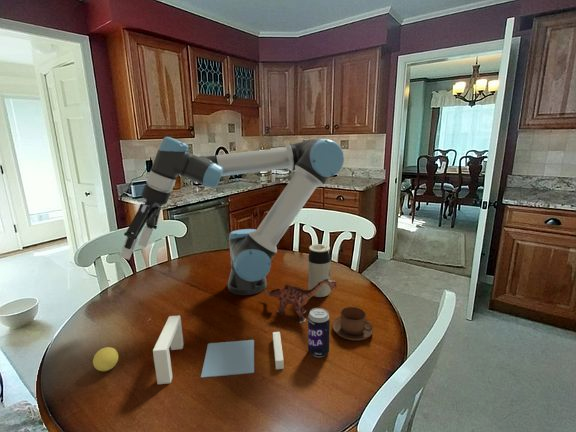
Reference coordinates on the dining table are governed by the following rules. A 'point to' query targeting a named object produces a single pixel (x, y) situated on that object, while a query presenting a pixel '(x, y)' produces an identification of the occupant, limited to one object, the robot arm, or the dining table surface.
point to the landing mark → (229, 358)
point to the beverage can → (318, 332)
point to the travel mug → (319, 268)
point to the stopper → (278, 351)
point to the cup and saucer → (353, 324)
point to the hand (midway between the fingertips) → (133, 251)
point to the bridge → (167, 348)
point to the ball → (105, 359)
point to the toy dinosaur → (298, 296)
